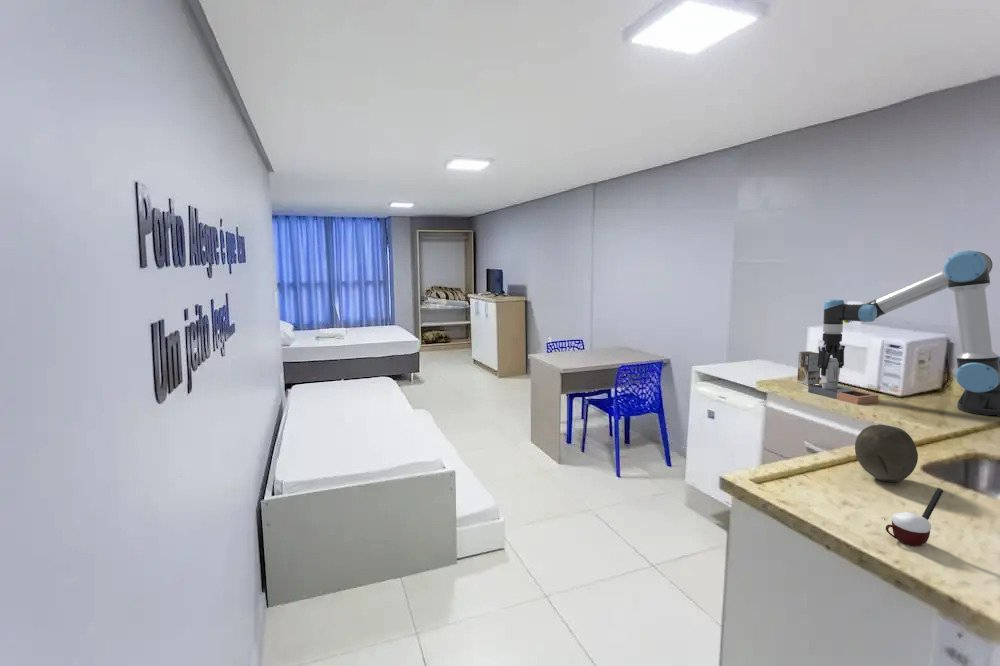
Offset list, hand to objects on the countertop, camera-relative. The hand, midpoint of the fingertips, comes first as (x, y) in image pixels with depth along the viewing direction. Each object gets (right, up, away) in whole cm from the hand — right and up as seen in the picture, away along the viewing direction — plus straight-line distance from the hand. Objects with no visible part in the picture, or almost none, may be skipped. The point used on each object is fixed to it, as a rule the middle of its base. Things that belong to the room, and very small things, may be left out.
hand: (829, 381), depth 229 cm
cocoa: (-68, -22, -125) cm, 144 cm away
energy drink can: (0, -4, 0) cm, 4 cm away
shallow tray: (+2, -6, -5) cm, 8 cm away
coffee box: (+4, -3, +22) cm, 23 cm away
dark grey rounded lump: (-49, -18, -94) cm, 107 cm away
